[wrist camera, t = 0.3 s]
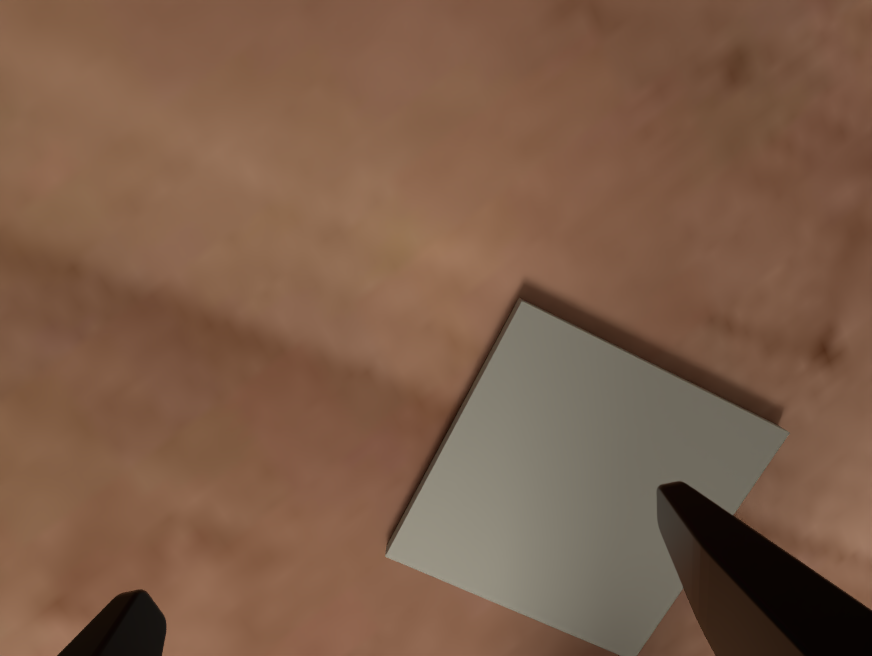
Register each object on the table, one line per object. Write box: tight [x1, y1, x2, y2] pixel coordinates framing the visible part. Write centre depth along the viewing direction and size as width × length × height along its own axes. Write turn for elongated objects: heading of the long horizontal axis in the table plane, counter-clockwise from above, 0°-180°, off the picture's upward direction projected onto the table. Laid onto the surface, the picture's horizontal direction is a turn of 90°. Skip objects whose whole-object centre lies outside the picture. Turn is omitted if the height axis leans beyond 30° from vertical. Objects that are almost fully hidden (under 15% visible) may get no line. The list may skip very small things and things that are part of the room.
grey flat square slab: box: [385, 298, 789, 656], centre depth 26 cm, size 14×14×1 cm
